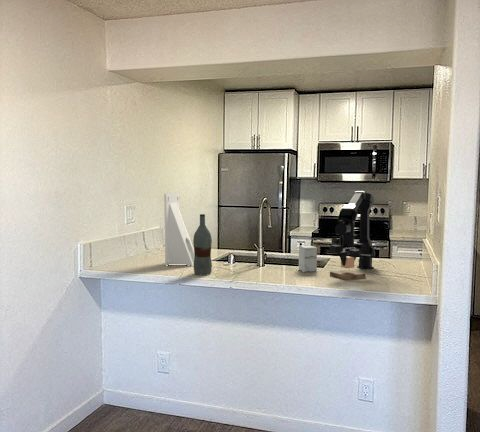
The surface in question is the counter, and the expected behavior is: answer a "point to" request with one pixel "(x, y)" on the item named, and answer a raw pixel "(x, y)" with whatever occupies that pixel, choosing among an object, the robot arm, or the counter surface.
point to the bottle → (202, 248)
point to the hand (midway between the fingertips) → (347, 265)
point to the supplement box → (308, 258)
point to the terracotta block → (348, 262)
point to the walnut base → (347, 274)
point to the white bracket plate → (176, 233)
